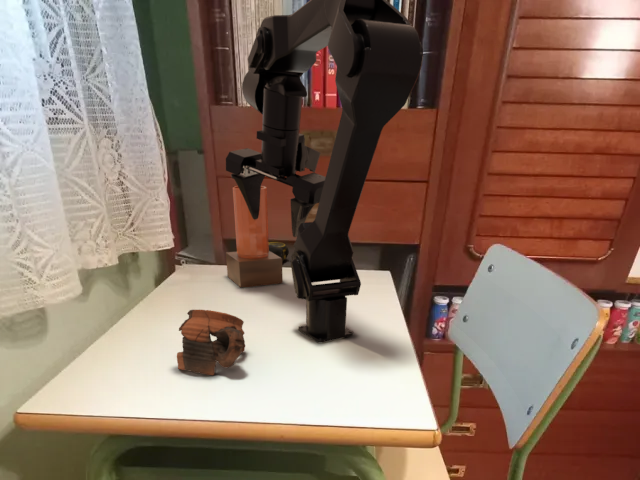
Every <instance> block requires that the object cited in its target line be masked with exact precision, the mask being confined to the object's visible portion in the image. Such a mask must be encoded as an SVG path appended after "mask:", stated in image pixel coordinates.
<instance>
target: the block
mask: <svg viewBox="0 0 640 480" xmlns="http://www.w3.org/2000/svg"><path fill="white" fill-rule="evenodd" d="M225 260H226V273H227V274H226V275H227V277H228V278H229V279H230V280H231V281H232V282H233V283H234V284H236V286H238V287H239V288H241V289H242V288H243V289H244V288H250V287H251V288H253V287H260V286H270V285H278V284H283V261H282V258H281V257H279V256H277V255H276V254H274V253H272V252H270V251H269V256H267V257H265V258H259V259H247V258H241V257H238V256H237V251H226V252H225Z"/></svg>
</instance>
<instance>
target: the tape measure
mask: <svg viewBox="0 0 640 480" xmlns="http://www.w3.org/2000/svg"><path fill="white" fill-rule="evenodd" d="M268 242H269V241H268ZM269 251H270V252H272V253H274V254H276V255H277V256H279V257H281V258H282V262H284V261H285V260H287V258H288V255H289V253H290V250H289V247H288V246H287V244H285V243H283V242H279V241H270V242H269Z"/></svg>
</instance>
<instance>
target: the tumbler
mask: <svg viewBox="0 0 640 480" xmlns="http://www.w3.org/2000/svg"><path fill="white" fill-rule="evenodd" d="M232 200H233V214H234V215H233V216H234V228H235V229H234V230H235V231H234V232H235V244H236V245H235V246H236V252H237V256H238V257H241V258H247V259H259V258H265V257H267V256H269V222H268V221H269V218H268V217H269V216H268V215H269V214H268V187H267V186H265V185H261V191H260V210H259V217H258V219H255V220H254V219H253V218H252V216H251V213H250V211H249V209H248V206H247V204H246V202H245V200H244V197H243V195H242V193H241V191H240V189H239V187H238V185H234V186H232Z"/></svg>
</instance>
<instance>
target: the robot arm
mask: <svg viewBox="0 0 640 480" xmlns="http://www.w3.org/2000/svg"><path fill="white" fill-rule="evenodd" d="M326 47H327V49H328V51H329V54H330V55H331V57H332V59H333V61H334V64H335V65H336V71H335V72H336V73H335V78H334V79H335V81H334V82H335V85H336V90H337V93H338V97H339V101H340V105H341V115H340V119H339V123H338V127H337V131H336V135H335V139H334V142H333V147H332V151H331V154H330V158H329V162H328V166H327V170H326V174H325V176H324V175H322V174H319V173H316V170H317V166H318V164H319V159H320V156H321V152H320V151H318V150H315V149H314V148H312V147H309V146H308V145H305V144H306V143H305V142H306V137H305V134H303V133H300V131H301V130H300V129H301V118H302V106H303V98H307V97H308V91H307V88H306V86H305V85H304V83H303V81H302V79H301V77H302V76H303V75H304V73H307V72H308V71H309V70H310V69H311V68H312V67H313V66H314V65H315V64H316V62H317V53H318V52H319V51H321V50H323V49H325V48H326ZM423 62H424V48H423V45H422V42H421V40H420V37H419V33H418V30H417V29H416V28H415V26H412V24H411V22H410V21H409V19H408V18H407V16H405V15H404V14H403V13H402V12H401V11H400V10H398V9H397V8H396V7H395V6H394V5H393V4H392V3H390V2H389V1H388V0H309V1H307V2H306V3H304V4H303V5H302V6H301V7H299V8H298V9H297V10H295V11H294V12H293V13H292V14H280V15H279V14H274V15H269V16H266V17H264V18H263V19H262V21H261V23H260V27H258V28H257V31H256V35H255V38H254V41H253V43H252V46H251V49H250V52H249V54H248V57H247V63H248V71H247V72H246V73H245V75H244V77H243V81H242V82H241V90H242V95H243V98H244V100H245V102H246V103H247V104H248V105H249V106H250V107H251V108H253V109H254V110H256V111H257V112H259V113H260V114H261V115H262V126H261V127H262V129H261V130H256V140H259V141H261V152H260V151H257V150H255V149H251V148H248V147H247V148H242V149H237V150H236V149H235V150H232V151H229V152H228V153H227V155H226V157H225V171H226V172H228V173H231V174H230V177H231V179H233V180H234V181H235V183H236V186H238V187H239V189H240V191H241V193H242V195H243V197H244V200H245V202H246V204H247V206H248V209H249V211H250V213H251V216H252V218H253V219H254V220H255V219H258V217H259V210H260V191H261V186H262V183H263V182H264V179H265V177H266V178H269V179H271V180H274V181H277V182H279V183H281V184H283V185H287V186H289V187H292V189H291V192H292V194H293V196H294V197H292V198H290V220H291V233H292V237H293V238H296V239H295V241H294V243H293V248H294V251H293V252H292V254H291V257H290V258H291V259H290V267H291V275H292V282H293V288H294V292H295V294H296V295H295V296H296V297H295V298H297V299H299V300H304V301H306V304H305V305H306V306H305V307H306V311H305V315H306V317H305V322H306V323H305V324H306V325H301V326H298V328H297V329H298V330H297V331H299V332H300V333H302V334H303V335H305V336H307V337H308V338H311V340H313V341H315V342H316V343H319V344H320V343H326V342H330V341H331V342H332V341H335V340H340V339H343V338H348V337H352V336H354V331H352V330H350V329H348V328H347V309H348V308H347V305H348V297H349V296H359V293H360V290H361V286H362V282H361V278H360V276H359V273H358V271H357V268H356V265H355V262H354V260H353V257H354V248H353V245H352V242H351V239H350V236H349V233H350V230H351V226H352V223H353V219H354V218H355V214H356V210H357V208H358V205H359V202H360V199H361V195H362V193H363V190H364V187H365V183H366V180H367V177H368V174H369V171H370V168H371V165H372V163H373V160H374V156H375V153H376V149H377V147H378V143H379V141H380V137H381V136H382V135H381V134H382V132H383V129H384V127H385V126H386V125H387V124H388V123H389V122H390V121H391V120H392V119H393V118H394V117H395V116H396V115H397V113H399V112H400V111H401V110H402V109H403V108H404V106H406V104H407V102H408V99H409V98H410V96H411V93H412V91H413V89H414V87H415V85H416V83H417V80H418V78H419V75H420V73H421V70H422V67H423V64H424V63H423ZM307 169H308V170H309V171H310V172H311V173H307V174H304V175H299V174H298V173H297V172H300V173H301V172H305V170H307ZM317 204H318V206H317V210H316V213H315V218H314V220H313V221H309V222H307V218H308V217H309V214H310V213H311V211H312V209H313V208H314V207H315V205H317ZM338 280H339V281H338ZM328 281H329V282H328ZM330 281H331V282H330ZM332 281H336V282H332ZM337 281H338V282H337ZM320 282H326V283H320ZM327 282H328V283H327ZM313 283H317V284H313ZM318 283H319V284H318Z"/></svg>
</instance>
